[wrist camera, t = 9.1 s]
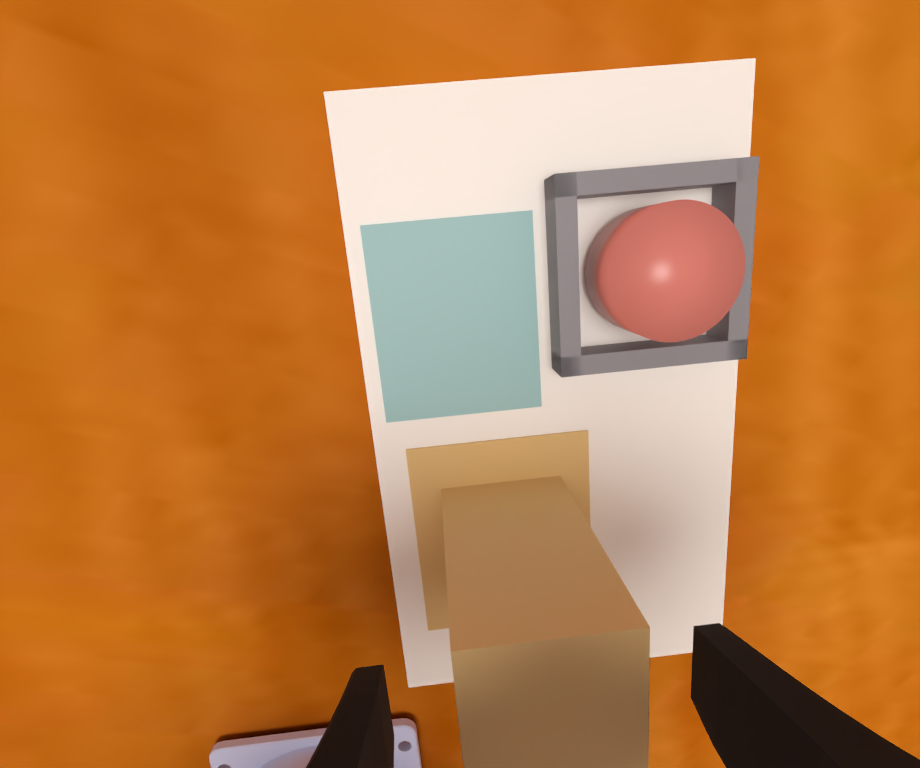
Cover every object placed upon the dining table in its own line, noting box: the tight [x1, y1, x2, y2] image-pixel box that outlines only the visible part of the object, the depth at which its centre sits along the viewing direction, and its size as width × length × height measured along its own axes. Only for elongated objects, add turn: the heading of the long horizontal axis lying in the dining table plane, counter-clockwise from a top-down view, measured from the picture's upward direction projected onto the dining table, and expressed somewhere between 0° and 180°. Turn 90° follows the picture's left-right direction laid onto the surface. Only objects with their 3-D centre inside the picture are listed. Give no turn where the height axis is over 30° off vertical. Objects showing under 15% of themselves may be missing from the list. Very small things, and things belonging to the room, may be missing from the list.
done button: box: [585, 199, 745, 342], centre depth 14 cm, size 4×4×2 cm
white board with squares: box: [324, 58, 759, 688], centre depth 16 cm, size 20×12×2 cm, turn 5°
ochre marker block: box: [441, 476, 650, 768], centre depth 14 cm, size 4×4×7 cm
